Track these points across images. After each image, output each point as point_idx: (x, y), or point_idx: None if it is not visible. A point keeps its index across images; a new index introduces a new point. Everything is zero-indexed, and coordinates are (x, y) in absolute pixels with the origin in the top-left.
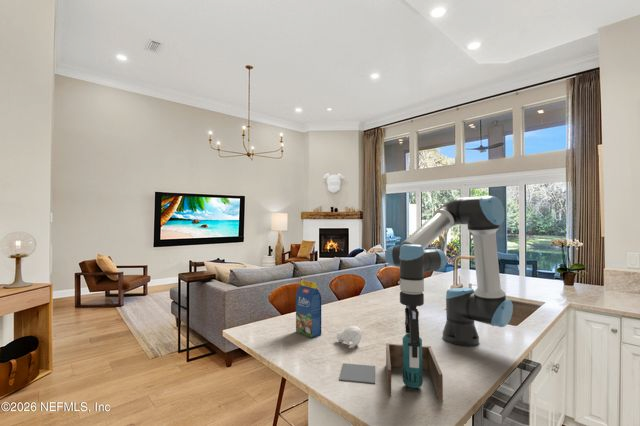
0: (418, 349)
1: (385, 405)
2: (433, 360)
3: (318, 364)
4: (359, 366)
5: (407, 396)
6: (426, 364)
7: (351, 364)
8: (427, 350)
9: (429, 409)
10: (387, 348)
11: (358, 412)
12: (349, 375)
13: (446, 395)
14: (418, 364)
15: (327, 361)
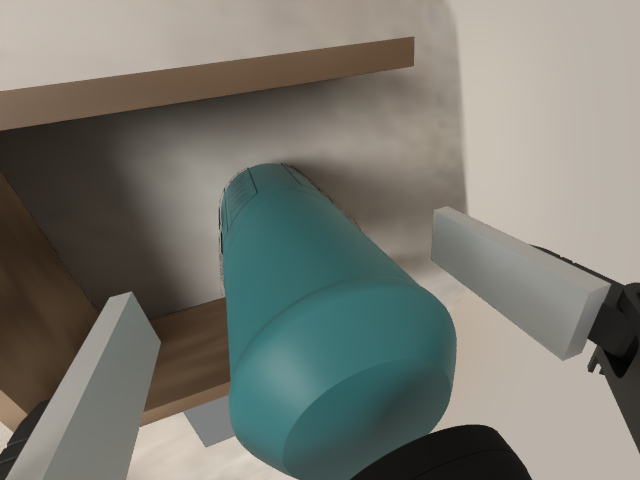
0: (571, 269)
1: (407, 260)
2: (179, 102)
3: (245, 477)
4: (200, 406)
5: (342, 209)
6: None
7: (199, 428)
8: None
9: (405, 122)
10: (142, 421)
11: (444, 305)
12: None
13: (277, 31)
14: (465, 217)
15: (211, 476)
